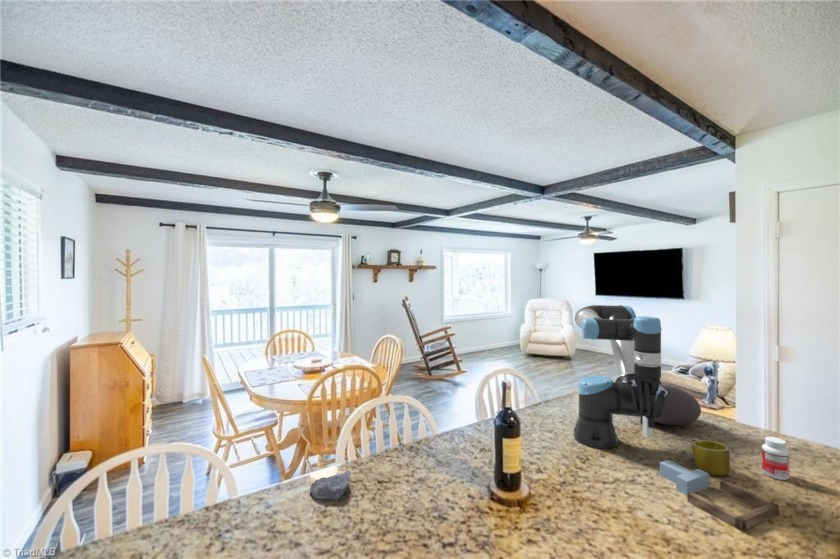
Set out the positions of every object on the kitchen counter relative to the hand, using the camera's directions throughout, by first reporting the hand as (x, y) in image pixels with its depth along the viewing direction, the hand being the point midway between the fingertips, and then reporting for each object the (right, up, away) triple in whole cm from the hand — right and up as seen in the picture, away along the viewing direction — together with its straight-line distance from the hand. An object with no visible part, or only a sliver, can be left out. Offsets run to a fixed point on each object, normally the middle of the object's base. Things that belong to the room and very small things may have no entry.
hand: (647, 435), depth 120 cm
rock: (-101, -12, -13) cm, 102 cm away
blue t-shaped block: (+4, -10, -9) cm, 14 cm away
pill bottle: (+36, -10, -6) cm, 38 cm away
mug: (+19, -10, -1) cm, 21 cm away
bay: (+9, -10, -21) cm, 25 cm away
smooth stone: (+29, -9, +35) cm, 46 cm away
